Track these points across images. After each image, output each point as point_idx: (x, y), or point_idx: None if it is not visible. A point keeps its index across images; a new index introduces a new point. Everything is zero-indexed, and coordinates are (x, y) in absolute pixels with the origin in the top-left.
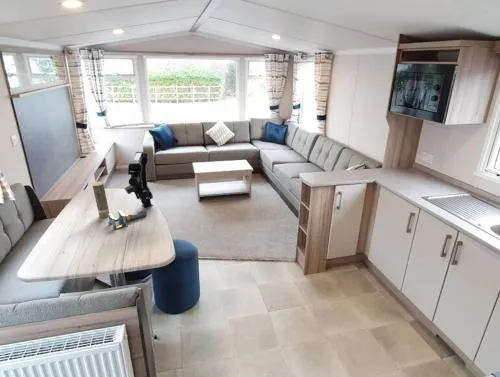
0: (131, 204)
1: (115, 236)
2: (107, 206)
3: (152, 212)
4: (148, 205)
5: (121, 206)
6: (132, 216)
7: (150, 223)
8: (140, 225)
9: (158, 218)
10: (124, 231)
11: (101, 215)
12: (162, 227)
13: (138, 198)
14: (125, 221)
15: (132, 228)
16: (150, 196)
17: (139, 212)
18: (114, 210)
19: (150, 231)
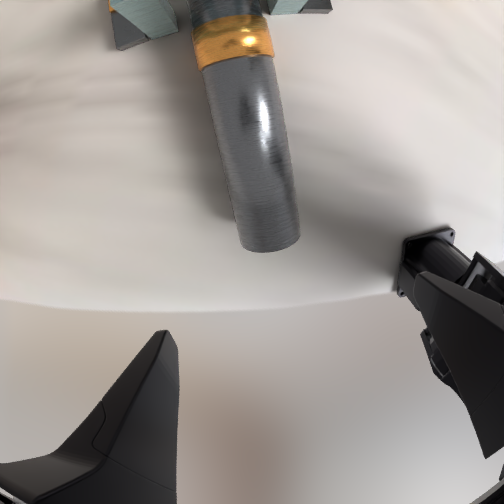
0: (493, 169)
1: (27, 3)
2: None
3: (298, 281)
4: (403, 276)
5: (499, 104)
6: (212, 96)
7: (102, 241)
8: (90, 161)
9: (167, 304)
10: (52, 41)
11: None
12: (45, 298)
13: (421, 297)
14: (139, 25)
15: (67, 96)
16: (429, 353)
17: (257, 188)
18: (472, 41)
19: (9, 228)
